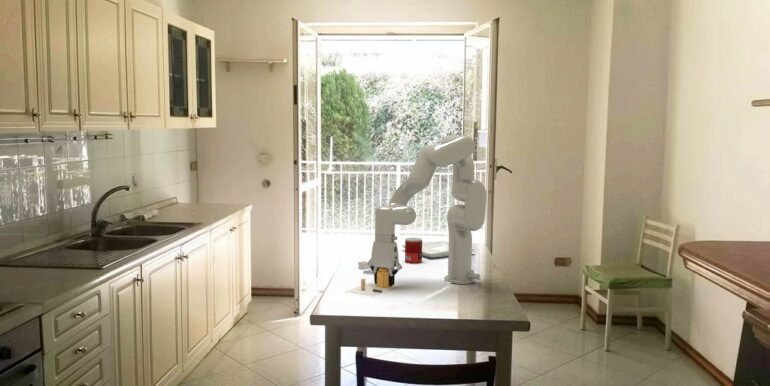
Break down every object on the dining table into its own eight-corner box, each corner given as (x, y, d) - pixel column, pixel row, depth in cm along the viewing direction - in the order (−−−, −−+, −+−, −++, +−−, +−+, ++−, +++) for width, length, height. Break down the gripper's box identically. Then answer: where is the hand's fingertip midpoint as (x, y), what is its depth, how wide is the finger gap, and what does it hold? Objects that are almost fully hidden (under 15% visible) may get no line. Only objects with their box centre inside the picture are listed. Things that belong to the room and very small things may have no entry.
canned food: (422, 263, 285) (422, 240, 284) (405, 263, 286) (405, 240, 285) (421, 260, 293) (421, 237, 292) (404, 260, 293) (405, 237, 292)
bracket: (389, 267, 278) (389, 251, 278) (387, 271, 271) (387, 254, 271) (361, 266, 281) (361, 250, 280) (358, 269, 274) (358, 253, 273)
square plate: (475, 255, 307) (475, 248, 306) (429, 261, 293) (429, 253, 293) (443, 246, 330) (444, 239, 330) (400, 251, 317) (400, 243, 316)
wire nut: (394, 285, 239) (394, 267, 239) (386, 288, 235) (387, 270, 234) (381, 283, 242) (381, 266, 241) (374, 286, 237) (374, 268, 237)
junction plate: (399, 288, 241) (399, 274, 240) (372, 300, 224) (373, 285, 223) (373, 284, 247) (373, 270, 246) (345, 295, 230) (345, 281, 229)
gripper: (409, 239, 235) (408, 285, 237) (370, 234, 244) (370, 279, 246) (399, 242, 229) (398, 289, 231) (360, 237, 238) (360, 283, 239)
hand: (384, 283), depth 238 cm, fingers closed on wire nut, 5 cm apart
